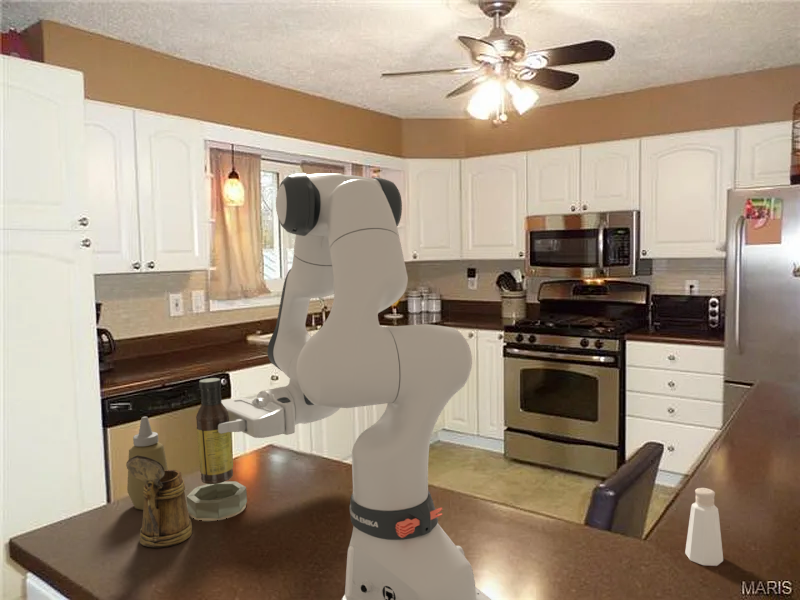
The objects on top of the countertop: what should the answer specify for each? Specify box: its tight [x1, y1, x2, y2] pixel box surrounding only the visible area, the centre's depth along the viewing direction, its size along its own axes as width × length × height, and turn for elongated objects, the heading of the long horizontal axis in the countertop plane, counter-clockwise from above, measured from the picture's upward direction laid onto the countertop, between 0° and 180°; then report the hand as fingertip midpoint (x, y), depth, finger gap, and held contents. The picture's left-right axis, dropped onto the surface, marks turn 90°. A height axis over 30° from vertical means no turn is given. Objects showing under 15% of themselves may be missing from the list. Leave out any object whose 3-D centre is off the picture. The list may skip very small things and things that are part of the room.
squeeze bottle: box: [126, 416, 169, 511], centre depth 120 cm, size 8×8×18 cm
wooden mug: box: [125, 455, 193, 549], centre depth 104 cm, size 9×14×18 cm, turn 178°
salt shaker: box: [684, 487, 724, 567], centre depth 94 cm, size 5×5×11 cm
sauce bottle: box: [195, 377, 234, 485], centre depth 117 cm, size 6×6×20 cm
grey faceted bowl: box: [186, 480, 248, 522], centre depth 118 cm, size 11×11×4 cm
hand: (209, 424), depth 116 cm, fingers closed on sauce bottle, 6 cm apart
